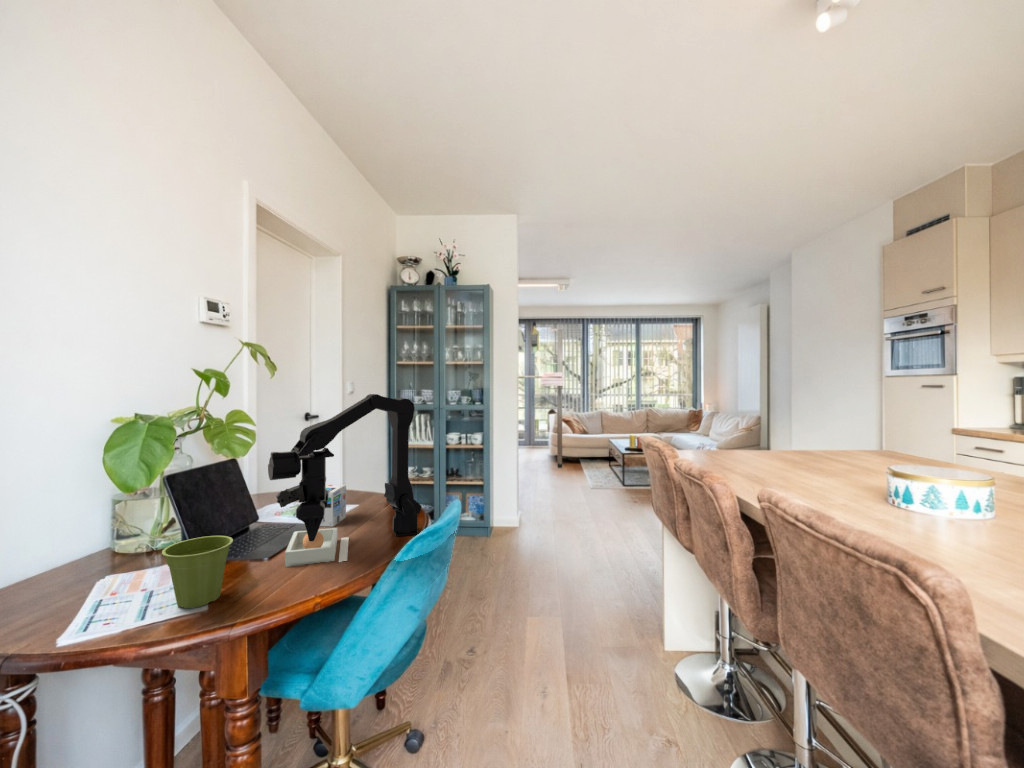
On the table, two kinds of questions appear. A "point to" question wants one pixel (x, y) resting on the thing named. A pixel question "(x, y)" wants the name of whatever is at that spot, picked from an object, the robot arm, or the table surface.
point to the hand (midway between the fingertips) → (313, 535)
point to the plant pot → (197, 569)
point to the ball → (313, 544)
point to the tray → (311, 549)
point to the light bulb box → (335, 505)
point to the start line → (343, 549)
